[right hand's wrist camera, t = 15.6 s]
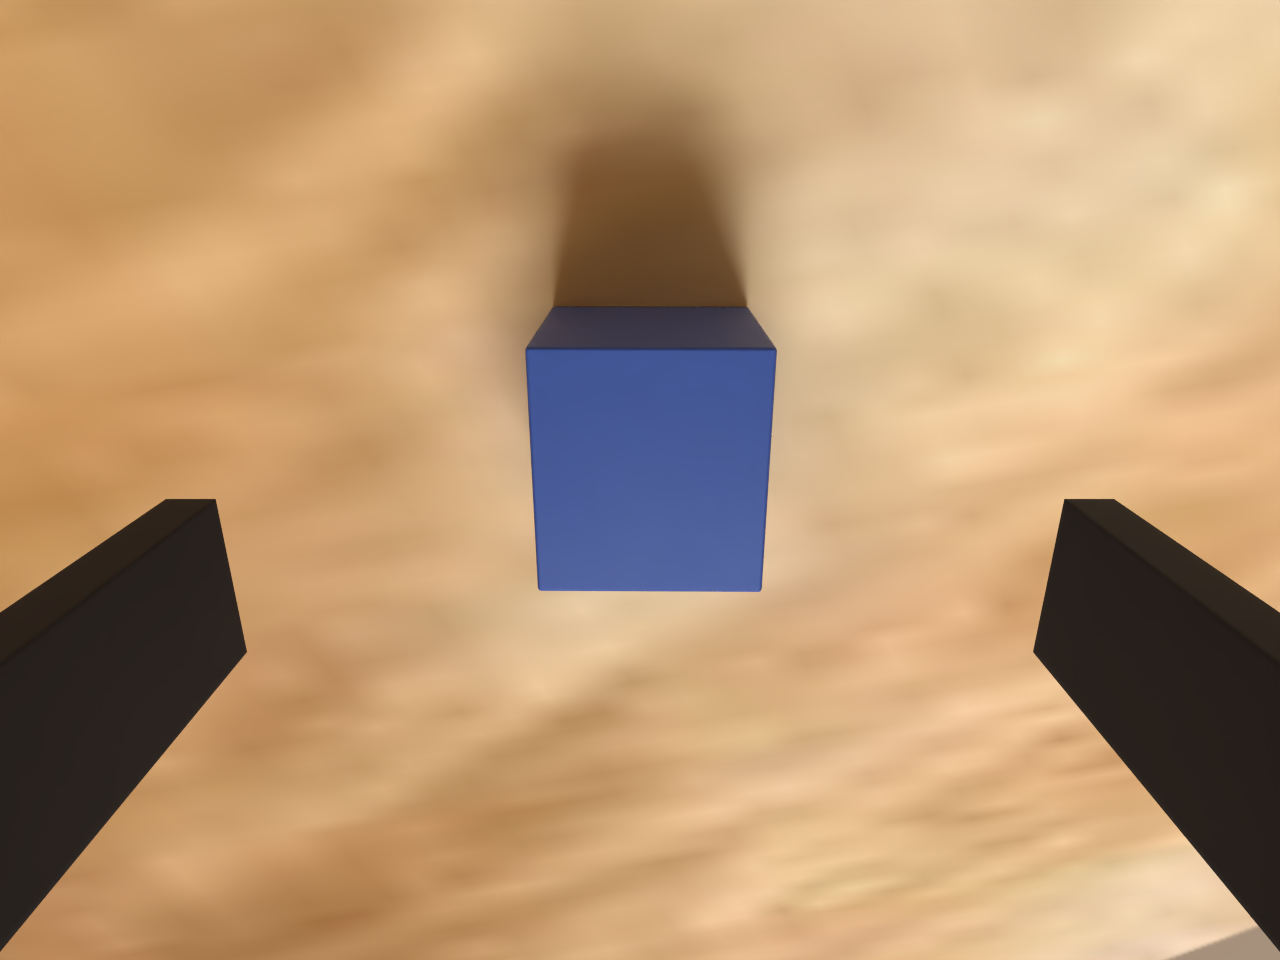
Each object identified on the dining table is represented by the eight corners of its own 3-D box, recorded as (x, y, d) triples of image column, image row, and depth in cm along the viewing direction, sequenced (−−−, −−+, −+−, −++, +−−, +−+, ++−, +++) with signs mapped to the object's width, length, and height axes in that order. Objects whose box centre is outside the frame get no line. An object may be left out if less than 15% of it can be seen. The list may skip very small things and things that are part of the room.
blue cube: (560, 504, 21) (537, 591, 17) (552, 306, 19) (524, 347, 15) (738, 505, 21) (761, 593, 17) (748, 306, 19) (777, 347, 15)
